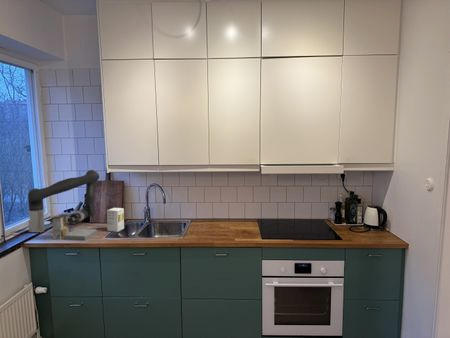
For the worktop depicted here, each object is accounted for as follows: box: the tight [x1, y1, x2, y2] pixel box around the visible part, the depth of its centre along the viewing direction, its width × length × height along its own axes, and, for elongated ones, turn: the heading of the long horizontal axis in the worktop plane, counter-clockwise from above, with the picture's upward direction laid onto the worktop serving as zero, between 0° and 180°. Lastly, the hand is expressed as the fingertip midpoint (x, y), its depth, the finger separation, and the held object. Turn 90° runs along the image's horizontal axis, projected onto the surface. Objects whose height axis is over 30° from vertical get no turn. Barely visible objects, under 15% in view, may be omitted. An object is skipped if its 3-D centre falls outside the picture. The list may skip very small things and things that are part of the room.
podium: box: [63, 228, 98, 241], centre depth 210 cm, size 16×16×3 cm
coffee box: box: [51, 213, 70, 240], centre depth 206 cm, size 9×6×16 cm
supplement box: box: [106, 207, 125, 233], centre depth 225 cm, size 10×9×17 cm
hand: (64, 223), depth 210 cm, fingers open, 8 cm apart
